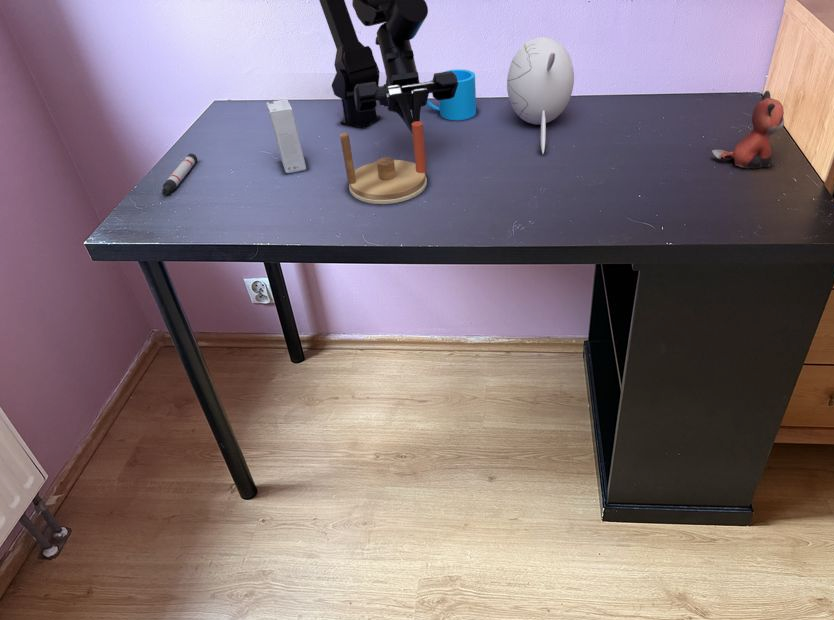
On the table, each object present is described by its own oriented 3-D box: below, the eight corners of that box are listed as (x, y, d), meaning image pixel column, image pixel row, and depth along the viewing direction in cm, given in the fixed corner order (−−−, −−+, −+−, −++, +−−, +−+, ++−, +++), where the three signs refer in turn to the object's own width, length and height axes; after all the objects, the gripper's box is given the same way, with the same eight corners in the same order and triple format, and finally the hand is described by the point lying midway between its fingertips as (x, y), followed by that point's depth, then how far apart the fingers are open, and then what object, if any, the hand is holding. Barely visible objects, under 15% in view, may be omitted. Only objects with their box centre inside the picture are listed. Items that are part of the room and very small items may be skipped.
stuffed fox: (706, 153, 127) (719, 90, 119) (765, 152, 127) (782, 88, 119) (716, 171, 121) (730, 106, 114) (778, 169, 121) (797, 104, 113)
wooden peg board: (334, 190, 120) (324, 137, 114) (378, 159, 129) (371, 108, 123) (398, 206, 115) (391, 151, 108) (439, 172, 124) (435, 120, 117)
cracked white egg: (509, 29, 140) (511, 48, 119) (574, 32, 140) (587, 52, 119) (503, 120, 150) (503, 153, 129) (563, 123, 150) (573, 157, 129)
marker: (189, 162, 133) (186, 153, 132) (198, 162, 133) (195, 153, 132) (159, 199, 122) (156, 189, 121) (170, 198, 122) (166, 189, 121)
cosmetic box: (307, 170, 129) (294, 108, 121) (284, 174, 128) (269, 112, 120) (302, 157, 133) (289, 97, 125) (280, 161, 132) (265, 101, 124)
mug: (478, 106, 150) (477, 69, 145) (473, 120, 144) (472, 82, 139) (426, 105, 152) (423, 69, 146) (420, 119, 146) (416, 82, 140)
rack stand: (333, 194, 121) (333, 191, 120) (378, 162, 130) (378, 159, 129) (399, 210, 115) (398, 207, 115) (441, 176, 124) (441, 173, 124)
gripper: (440, 70, 131) (458, 145, 130) (347, 83, 128) (365, 160, 127) (448, 39, 120) (467, 120, 119) (346, 52, 117) (366, 136, 116)
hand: (416, 135), depth 120 cm, fingers closed
